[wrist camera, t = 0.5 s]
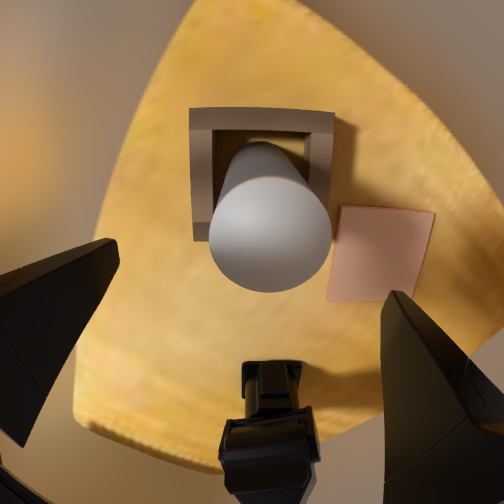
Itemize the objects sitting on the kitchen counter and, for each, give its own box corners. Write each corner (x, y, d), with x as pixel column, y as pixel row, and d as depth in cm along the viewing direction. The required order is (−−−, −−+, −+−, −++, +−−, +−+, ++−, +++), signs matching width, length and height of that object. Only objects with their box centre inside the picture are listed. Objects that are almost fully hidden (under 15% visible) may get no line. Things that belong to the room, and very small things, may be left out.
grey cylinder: (287, 199, 23) (323, 292, 12) (229, 198, 23) (211, 291, 12) (291, 142, 21) (338, 182, 10) (229, 140, 21) (206, 178, 10)
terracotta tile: (408, 295, 28) (410, 299, 27) (325, 298, 28) (327, 302, 27) (431, 211, 24) (434, 213, 23) (340, 204, 24) (342, 207, 23)
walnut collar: (316, 230, 25) (323, 243, 22) (198, 228, 24) (193, 241, 22) (326, 111, 20) (335, 112, 18) (195, 108, 20) (188, 108, 18)
